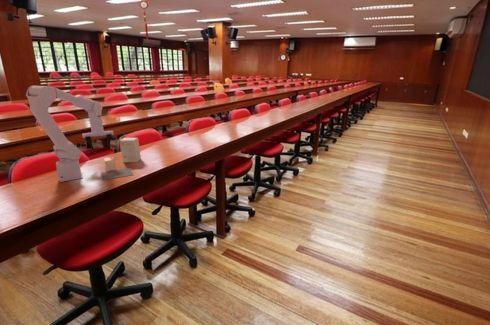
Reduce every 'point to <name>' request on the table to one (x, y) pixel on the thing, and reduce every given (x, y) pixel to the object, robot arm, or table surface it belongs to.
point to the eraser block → (110, 164)
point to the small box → (130, 149)
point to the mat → (116, 173)
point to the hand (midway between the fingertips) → (101, 149)
